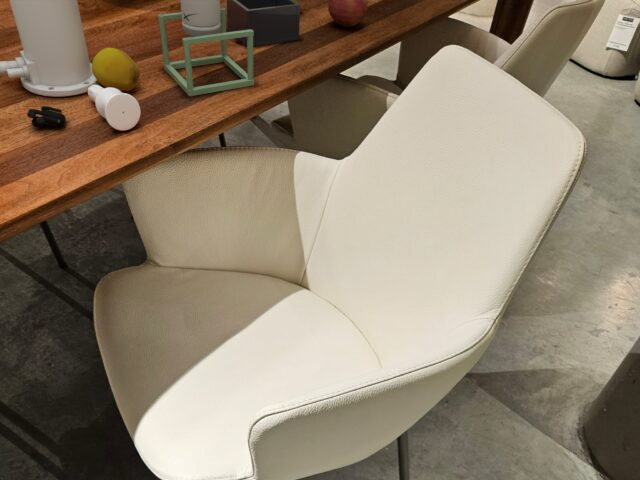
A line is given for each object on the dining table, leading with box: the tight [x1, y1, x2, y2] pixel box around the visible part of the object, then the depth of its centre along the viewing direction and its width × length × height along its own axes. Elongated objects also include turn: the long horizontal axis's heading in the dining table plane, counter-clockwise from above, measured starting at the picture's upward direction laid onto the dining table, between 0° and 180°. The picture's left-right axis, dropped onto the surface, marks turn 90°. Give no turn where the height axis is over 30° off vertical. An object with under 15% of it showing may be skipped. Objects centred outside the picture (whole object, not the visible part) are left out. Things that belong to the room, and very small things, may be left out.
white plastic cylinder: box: [87, 84, 142, 131], centre depth 89 cm, size 5×5×12 cm
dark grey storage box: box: [226, 0, 301, 48], centre depth 116 cm, size 11×9×7 cm
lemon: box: [91, 47, 141, 92], centre depth 95 cm, size 6×6×8 cm
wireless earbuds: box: [26, 105, 67, 129], centre depth 86 cm, size 7×2×5 cm
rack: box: [157, 7, 255, 97], centre depth 99 cm, size 12×12×9 cm
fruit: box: [327, 0, 369, 28], centre depth 122 cm, size 8×8×10 cm
